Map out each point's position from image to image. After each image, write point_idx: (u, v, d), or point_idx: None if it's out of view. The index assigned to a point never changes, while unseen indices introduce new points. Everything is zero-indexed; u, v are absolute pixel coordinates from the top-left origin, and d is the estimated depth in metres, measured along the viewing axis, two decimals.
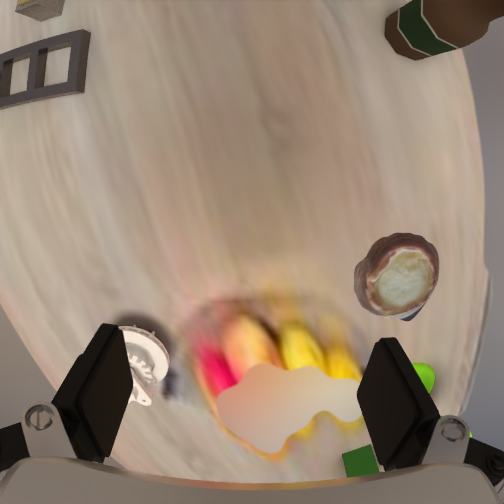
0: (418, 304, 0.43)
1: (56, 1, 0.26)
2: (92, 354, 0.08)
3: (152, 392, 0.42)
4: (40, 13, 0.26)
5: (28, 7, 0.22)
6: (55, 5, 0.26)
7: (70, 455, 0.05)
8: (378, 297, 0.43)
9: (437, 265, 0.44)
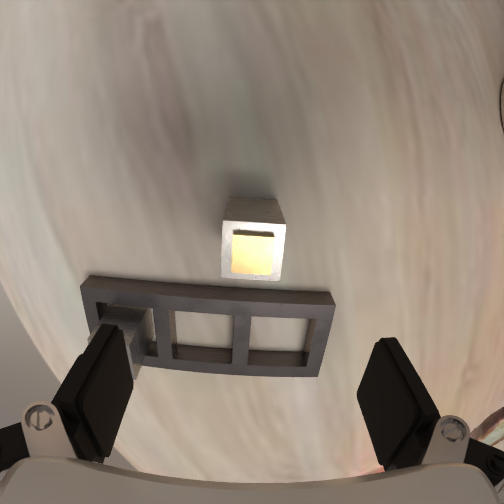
0: (499, 441, 0.42)
1: None
2: (92, 354, 0.08)
3: None
4: None
5: (256, 277, 0.22)
6: None
7: (70, 455, 0.05)
8: None
9: None
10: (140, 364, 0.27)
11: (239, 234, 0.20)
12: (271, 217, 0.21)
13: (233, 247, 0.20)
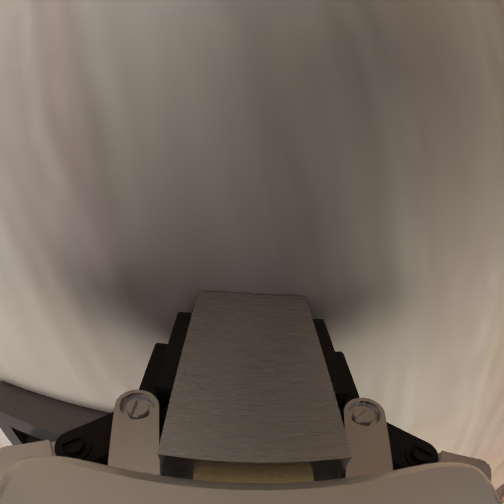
0: None
1: None
2: (179, 341, 0.09)
3: None
4: None
5: None
6: None
7: (153, 452, 0.06)
8: (503, 499, 0.28)
9: None
10: None
11: None
12: (304, 414, 0.07)
13: None
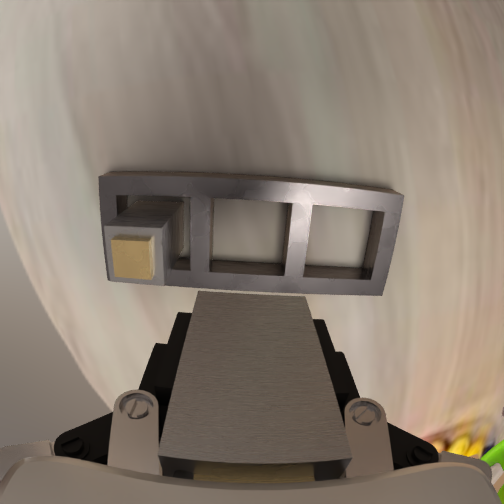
0: None
1: None
2: (178, 340, 0.09)
3: None
4: None
5: None
6: None
7: (153, 452, 0.06)
8: None
9: None
10: (169, 270, 0.22)
11: None
12: (304, 415, 0.06)
13: None
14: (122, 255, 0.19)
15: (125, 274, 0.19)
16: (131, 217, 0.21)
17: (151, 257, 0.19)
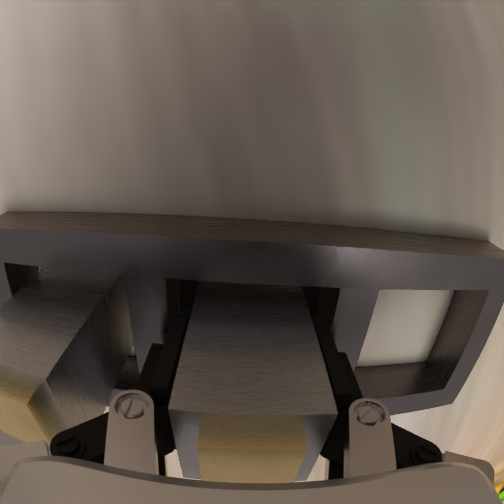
0: None
1: None
2: (174, 341, 0.09)
3: None
4: None
5: None
6: None
7: (149, 452, 0.06)
8: None
9: None
10: (97, 416, 0.09)
11: (214, 444, 0.06)
12: (295, 376, 0.08)
13: (202, 463, 0.07)
14: None
15: (15, 434, 0.07)
16: (12, 323, 0.08)
17: (46, 422, 0.07)
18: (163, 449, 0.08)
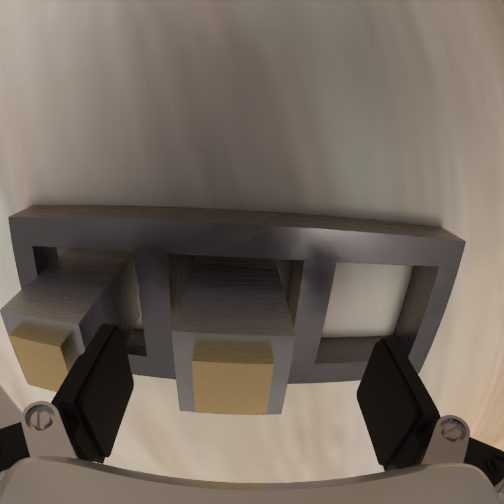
0: None
1: None
2: (92, 354, 0.08)
3: None
4: None
5: None
6: None
7: (70, 455, 0.05)
8: None
9: None
10: None
11: (204, 358, 0.10)
12: (265, 313, 0.11)
13: (195, 379, 0.10)
14: (29, 359, 0.09)
15: (41, 384, 0.10)
16: (44, 290, 0.11)
17: (71, 366, 0.10)
18: None
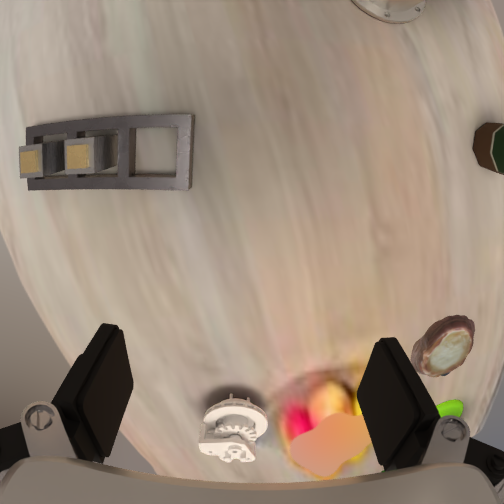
0: (456, 367, 0.48)
1: (111, 152, 0.35)
2: (92, 354, 0.08)
3: (254, 450, 0.46)
4: None
5: (83, 173, 0.31)
6: (111, 159, 0.35)
7: (70, 455, 0.05)
8: (429, 365, 0.48)
9: (473, 334, 0.49)
10: (50, 171, 0.32)
11: (70, 145, 0.29)
12: None
13: (67, 153, 0.29)
14: (24, 160, 0.29)
15: (25, 171, 0.29)
16: None
17: (36, 160, 0.29)
18: None
